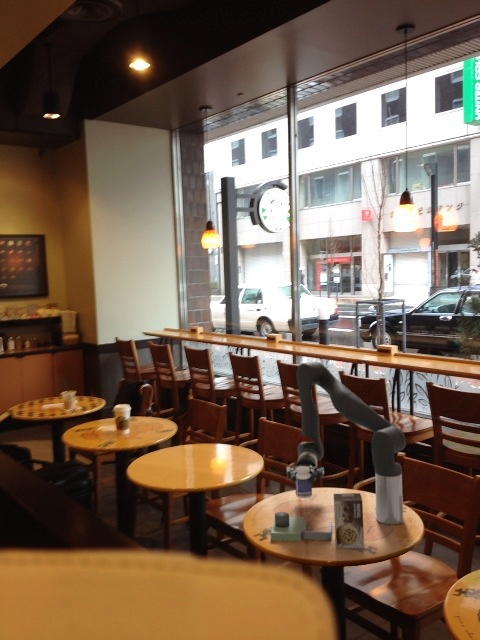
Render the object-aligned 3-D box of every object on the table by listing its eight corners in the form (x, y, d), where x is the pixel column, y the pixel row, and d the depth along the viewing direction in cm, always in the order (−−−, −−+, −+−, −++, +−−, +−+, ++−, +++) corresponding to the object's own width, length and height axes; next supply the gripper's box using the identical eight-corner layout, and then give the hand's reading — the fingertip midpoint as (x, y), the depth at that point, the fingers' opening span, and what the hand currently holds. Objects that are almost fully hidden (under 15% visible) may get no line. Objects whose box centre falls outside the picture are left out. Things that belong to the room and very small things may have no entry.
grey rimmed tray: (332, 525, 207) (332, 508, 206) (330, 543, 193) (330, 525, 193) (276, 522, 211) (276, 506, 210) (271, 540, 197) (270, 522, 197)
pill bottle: (315, 495, 205) (314, 468, 204) (303, 499, 202) (301, 472, 201) (304, 491, 210) (303, 464, 209) (292, 495, 207) (291, 467, 206)
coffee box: (362, 539, 195) (361, 492, 193) (364, 548, 188) (363, 500, 187) (334, 539, 195) (333, 492, 194) (335, 548, 189) (334, 500, 188)
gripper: (287, 454, 221) (281, 469, 204) (325, 454, 218) (323, 470, 201) (288, 473, 221) (282, 489, 205) (326, 474, 218) (323, 491, 202)
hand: (302, 479), depth 203 cm, fingers closed on pill bottle, 5 cm apart
